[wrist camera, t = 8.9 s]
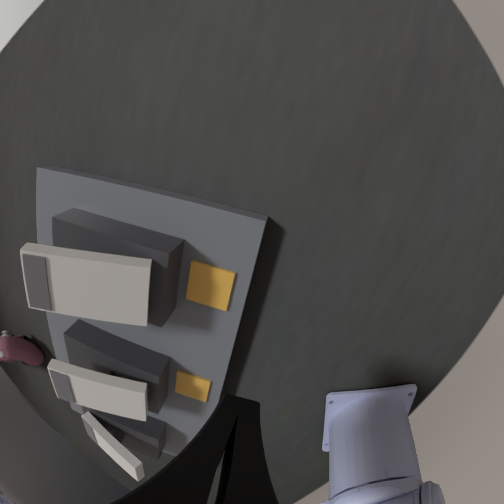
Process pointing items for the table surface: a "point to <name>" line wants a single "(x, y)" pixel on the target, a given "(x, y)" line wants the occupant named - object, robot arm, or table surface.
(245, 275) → the switch board
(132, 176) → the table surface
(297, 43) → the table surface
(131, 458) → the rocker far
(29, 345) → the video game controller
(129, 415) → the rocker middle
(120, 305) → the rocker near
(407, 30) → the table surface
